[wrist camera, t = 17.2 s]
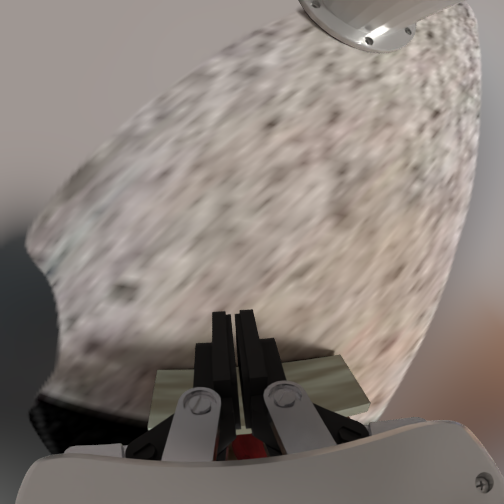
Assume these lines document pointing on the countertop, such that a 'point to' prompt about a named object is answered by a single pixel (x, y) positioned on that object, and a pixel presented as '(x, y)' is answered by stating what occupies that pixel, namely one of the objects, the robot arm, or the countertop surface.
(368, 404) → the drawer
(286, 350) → the countertop surface
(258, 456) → the onion
